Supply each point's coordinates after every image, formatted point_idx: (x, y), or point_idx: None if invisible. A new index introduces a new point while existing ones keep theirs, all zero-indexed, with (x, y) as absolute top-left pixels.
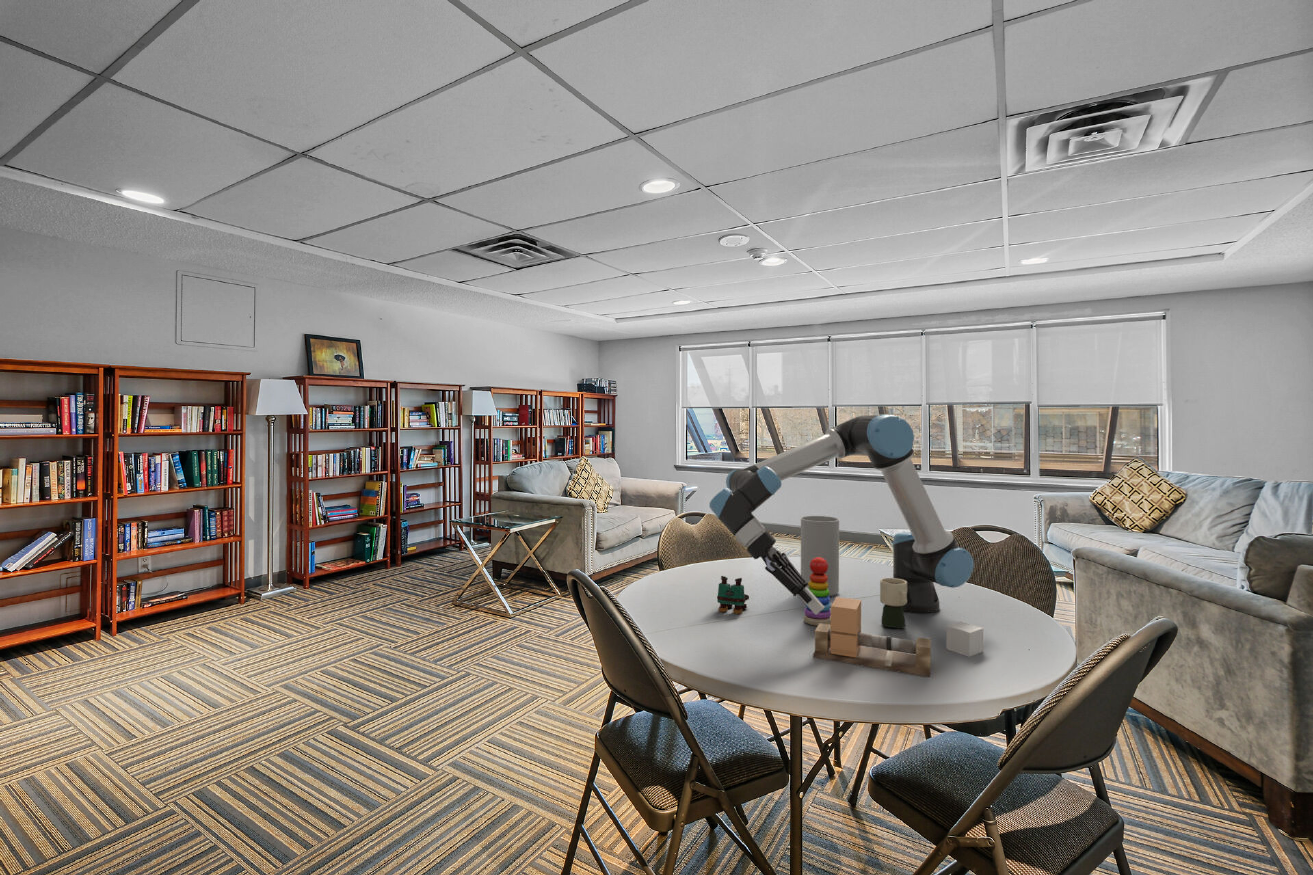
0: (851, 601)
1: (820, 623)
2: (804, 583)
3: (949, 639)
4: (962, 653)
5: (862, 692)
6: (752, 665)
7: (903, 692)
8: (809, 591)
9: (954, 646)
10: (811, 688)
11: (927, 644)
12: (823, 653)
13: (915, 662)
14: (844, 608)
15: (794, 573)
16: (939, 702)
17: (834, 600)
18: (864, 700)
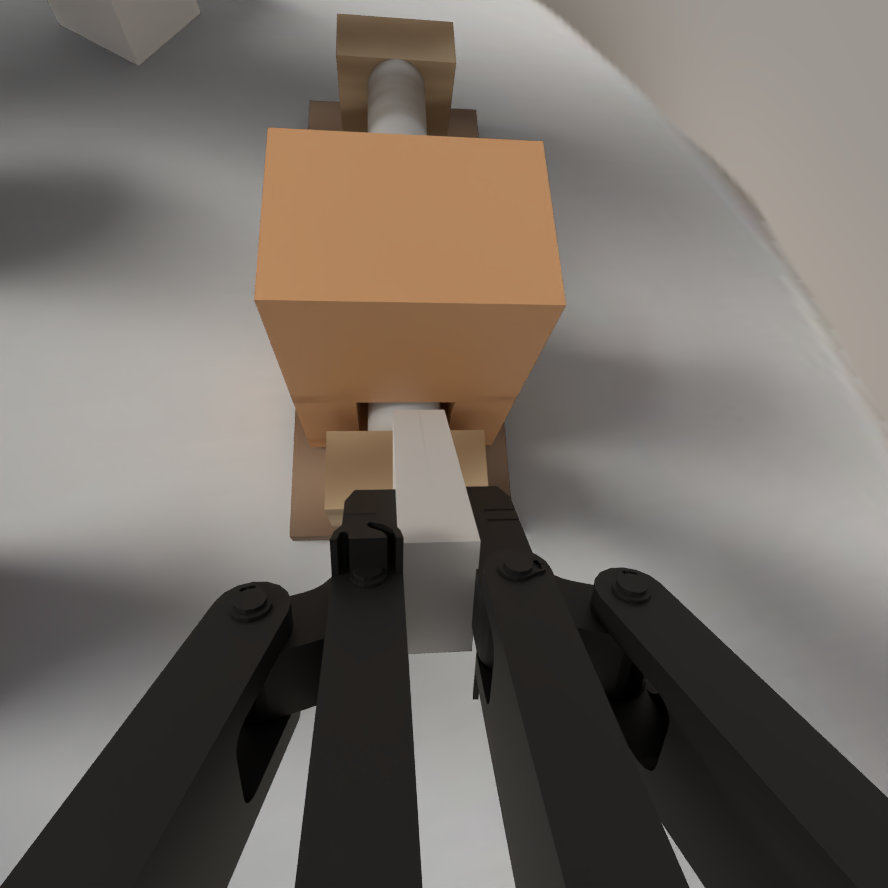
0: (348, 184)
1: (329, 503)
2: (367, 573)
3: (129, 14)
4: (181, 26)
5: (734, 301)
6: None
7: (648, 192)
8: (433, 503)
9: (153, 26)
10: (826, 467)
11: (415, 28)
12: (488, 483)
13: None
14: (553, 216)
15: (376, 779)
16: (654, 110)
17: (382, 301)
18: (788, 290)
